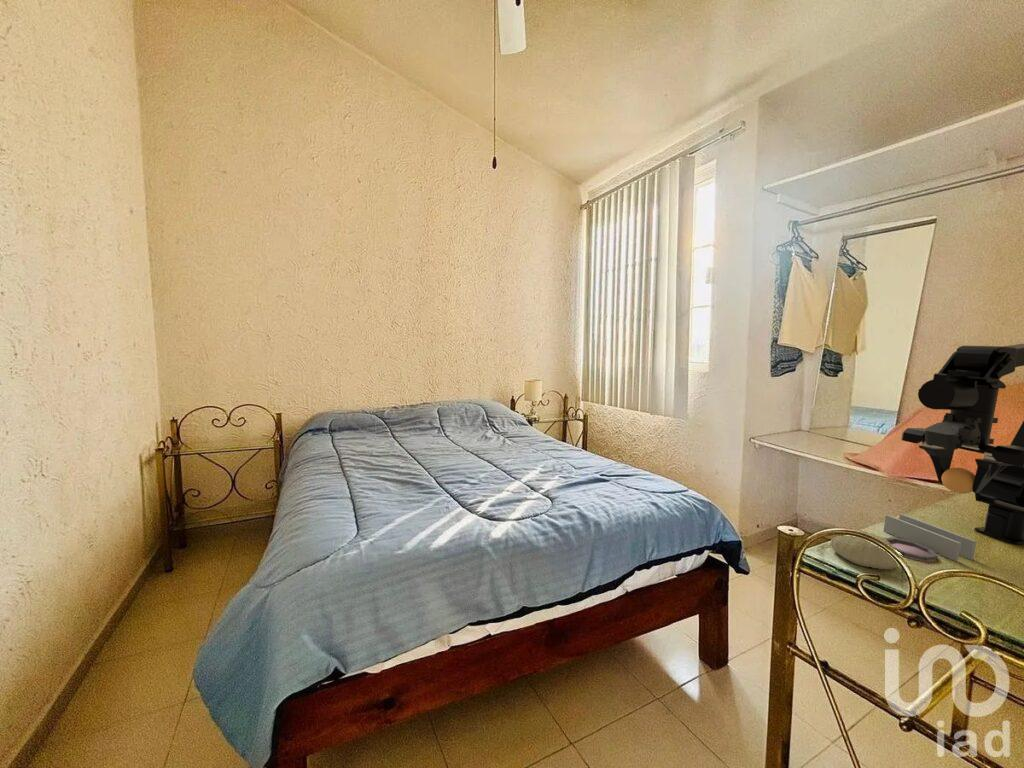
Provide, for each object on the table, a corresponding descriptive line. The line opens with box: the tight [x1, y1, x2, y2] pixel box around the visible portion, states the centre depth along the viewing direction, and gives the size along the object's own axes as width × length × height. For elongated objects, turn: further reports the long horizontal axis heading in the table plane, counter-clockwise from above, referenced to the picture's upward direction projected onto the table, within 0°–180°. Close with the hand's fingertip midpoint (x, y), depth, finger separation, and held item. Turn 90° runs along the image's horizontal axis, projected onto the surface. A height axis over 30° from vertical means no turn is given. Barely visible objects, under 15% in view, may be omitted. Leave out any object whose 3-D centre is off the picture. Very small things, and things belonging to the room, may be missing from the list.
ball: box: [941, 467, 976, 495], centre depth 83 cm, size 5×5×5 cm
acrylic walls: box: [883, 513, 978, 562], centre depth 82 cm, size 5×12×4 cm, turn 14°
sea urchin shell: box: [830, 528, 898, 570], centre depth 75 cm, size 9×8×8 cm
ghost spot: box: [883, 536, 938, 563], centre depth 79 cm, size 8×8×1 cm
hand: (958, 487), depth 83 cm, fingers closed on ball, 5 cm apart
